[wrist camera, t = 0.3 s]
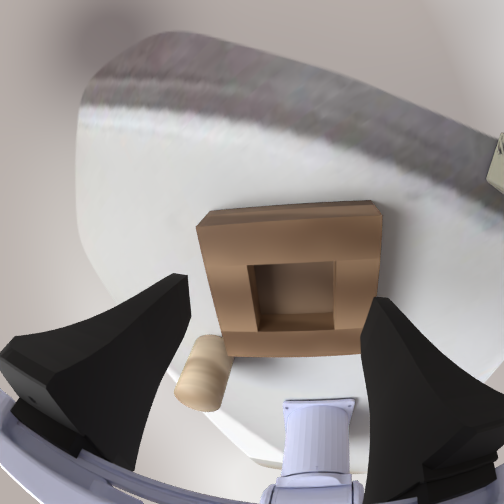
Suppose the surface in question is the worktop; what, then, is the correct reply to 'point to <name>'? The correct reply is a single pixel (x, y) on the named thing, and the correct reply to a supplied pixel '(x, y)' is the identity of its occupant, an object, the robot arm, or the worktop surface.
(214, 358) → the pin
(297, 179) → the worktop surface
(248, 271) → the socket block
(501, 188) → the box
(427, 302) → the worktop surface
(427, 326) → the worktop surface
